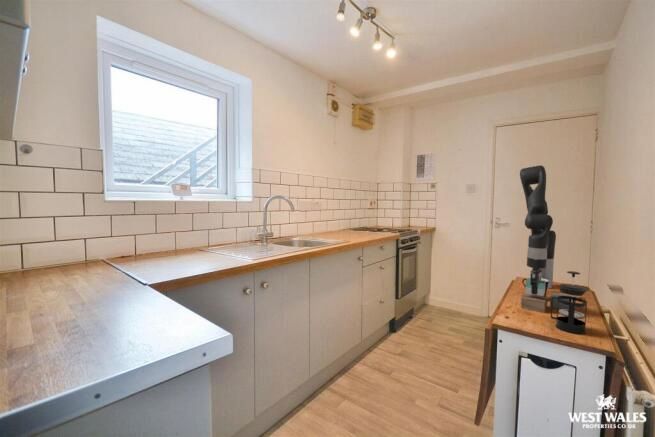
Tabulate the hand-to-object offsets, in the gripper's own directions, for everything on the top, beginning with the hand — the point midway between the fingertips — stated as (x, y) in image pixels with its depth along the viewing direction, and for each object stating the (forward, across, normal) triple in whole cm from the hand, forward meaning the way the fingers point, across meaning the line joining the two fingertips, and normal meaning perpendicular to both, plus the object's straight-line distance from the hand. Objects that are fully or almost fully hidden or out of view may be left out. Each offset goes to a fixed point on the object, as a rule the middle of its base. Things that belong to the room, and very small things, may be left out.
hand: (535, 292), depth 141 cm
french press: (+7, +18, +14) cm, 24 cm away
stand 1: (+7, 0, 0) cm, 7 cm away
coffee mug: (+8, -18, -2) cm, 19 cm away
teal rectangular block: (0, 0, 0) cm, 0 cm away
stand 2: (+7, -10, +10) cm, 16 cm away
